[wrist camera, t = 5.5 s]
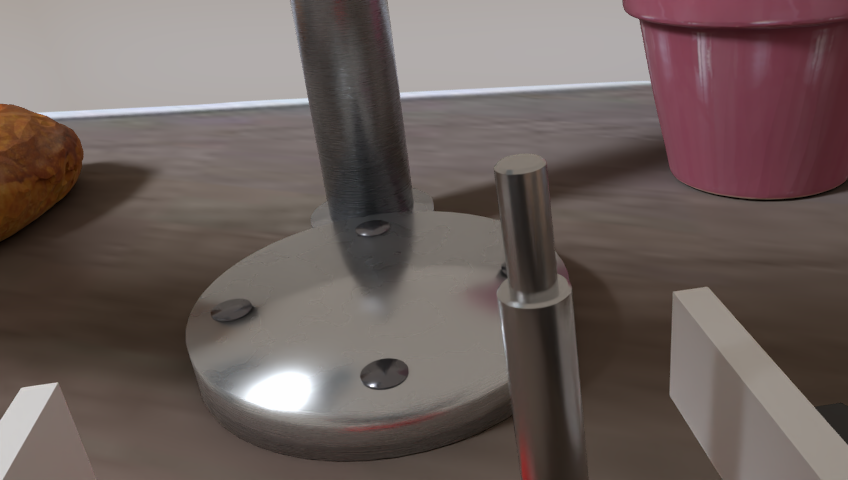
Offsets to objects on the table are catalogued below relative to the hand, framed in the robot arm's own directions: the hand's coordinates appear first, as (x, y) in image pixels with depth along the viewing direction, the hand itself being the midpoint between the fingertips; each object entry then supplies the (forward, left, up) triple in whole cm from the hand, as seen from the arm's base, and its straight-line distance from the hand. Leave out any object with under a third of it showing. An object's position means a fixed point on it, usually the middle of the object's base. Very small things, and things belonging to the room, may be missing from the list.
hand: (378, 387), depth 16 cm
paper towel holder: (0, +16, -7) cm, 17 cm away
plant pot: (+21, +24, -7) cm, 33 cm away
